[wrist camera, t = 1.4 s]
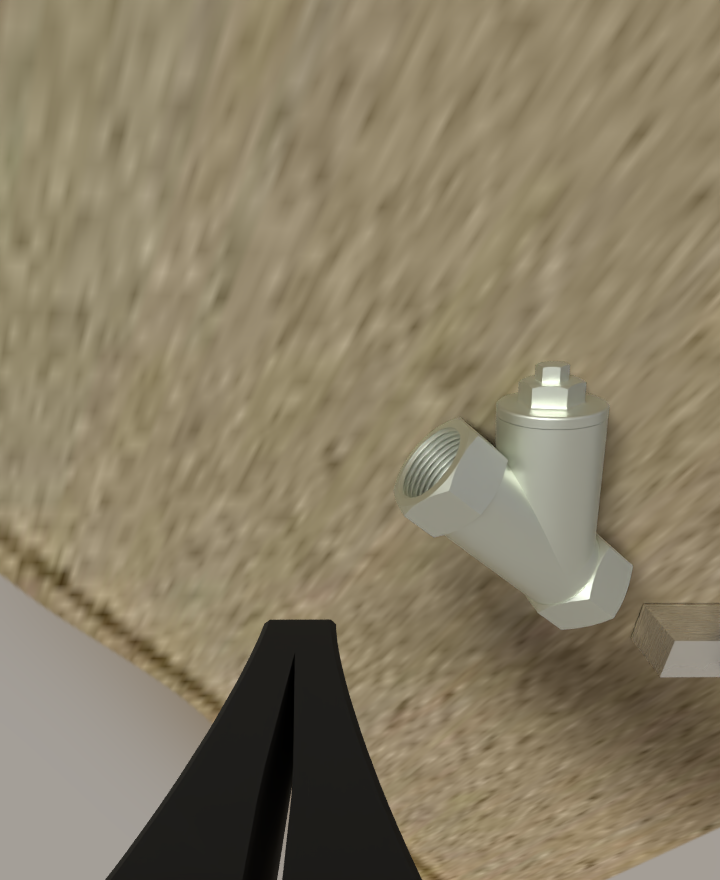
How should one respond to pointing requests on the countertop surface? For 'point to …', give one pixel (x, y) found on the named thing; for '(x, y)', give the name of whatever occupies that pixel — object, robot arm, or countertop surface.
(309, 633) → the robot arm
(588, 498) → the pipe fitting
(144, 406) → the countertop surface
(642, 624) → the grey bracket
